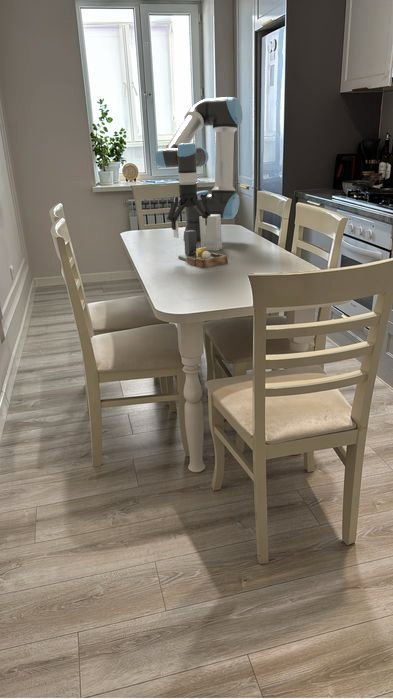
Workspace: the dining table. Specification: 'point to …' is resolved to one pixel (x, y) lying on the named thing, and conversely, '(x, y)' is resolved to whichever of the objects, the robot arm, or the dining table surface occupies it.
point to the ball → (206, 255)
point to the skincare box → (212, 233)
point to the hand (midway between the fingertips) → (189, 235)
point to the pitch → (205, 260)
